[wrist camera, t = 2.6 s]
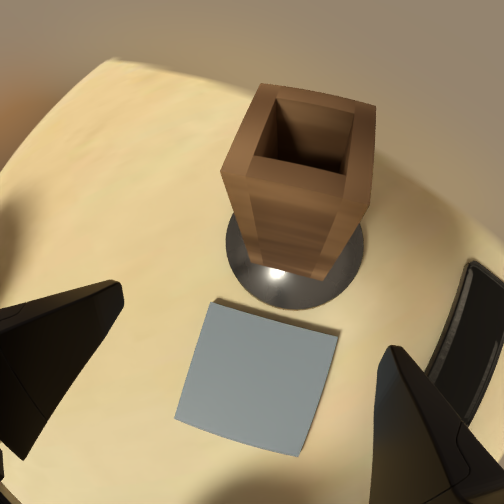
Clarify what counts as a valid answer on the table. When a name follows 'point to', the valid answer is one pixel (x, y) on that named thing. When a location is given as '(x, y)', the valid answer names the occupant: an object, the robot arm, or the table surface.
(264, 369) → the pad
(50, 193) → the table surface
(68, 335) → the robot arm
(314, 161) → the walnut sleeve
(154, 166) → the table surface
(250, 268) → the peg stand
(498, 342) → the phone
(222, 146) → the table surface
